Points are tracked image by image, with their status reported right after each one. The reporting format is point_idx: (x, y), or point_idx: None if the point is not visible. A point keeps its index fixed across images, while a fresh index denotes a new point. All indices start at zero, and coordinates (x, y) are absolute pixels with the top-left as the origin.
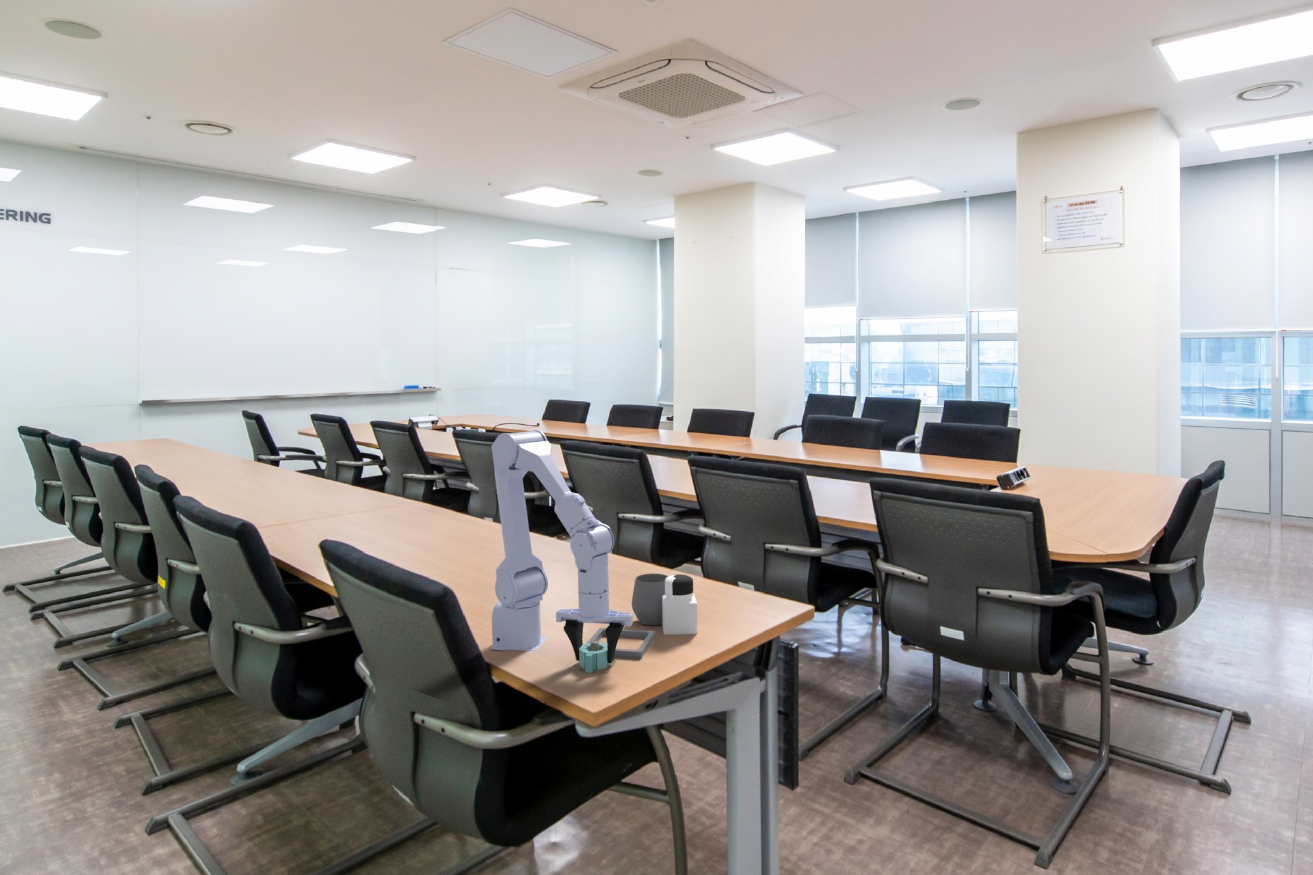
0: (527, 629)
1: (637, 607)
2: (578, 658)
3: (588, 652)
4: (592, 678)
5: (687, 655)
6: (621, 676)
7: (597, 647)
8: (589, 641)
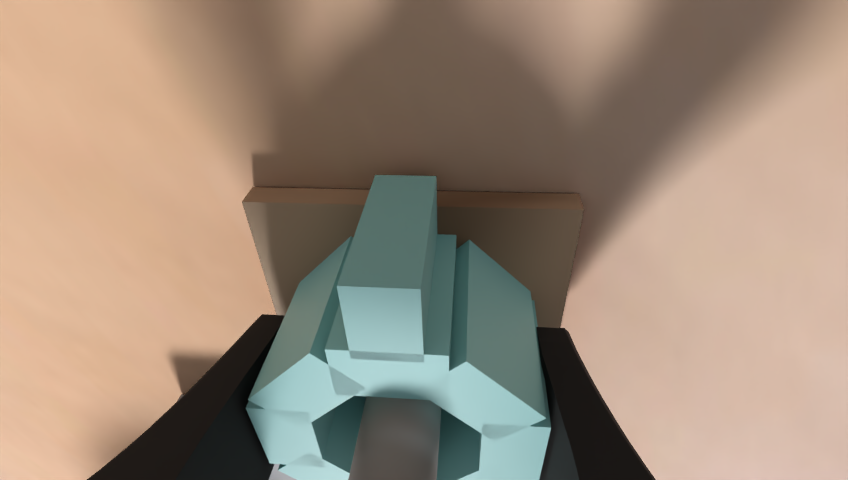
0: None
1: None
2: (546, 339)
3: (417, 365)
4: (355, 118)
5: (29, 450)
6: (150, 193)
7: (359, 444)
8: None
